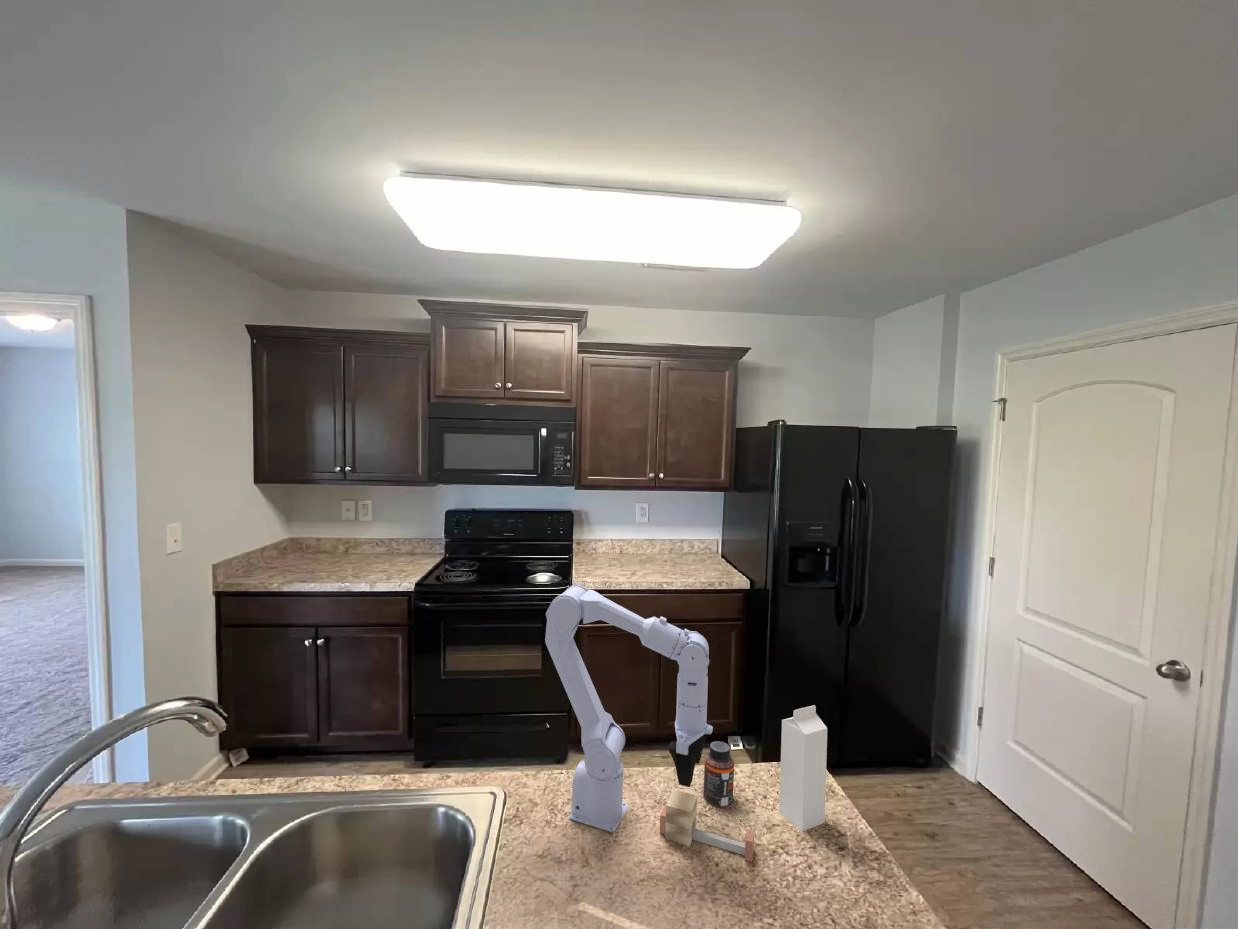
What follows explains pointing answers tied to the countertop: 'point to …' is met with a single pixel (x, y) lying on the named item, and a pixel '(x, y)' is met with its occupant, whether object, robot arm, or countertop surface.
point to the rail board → (718, 839)
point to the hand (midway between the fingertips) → (689, 773)
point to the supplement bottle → (719, 775)
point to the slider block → (680, 817)
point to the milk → (803, 768)
